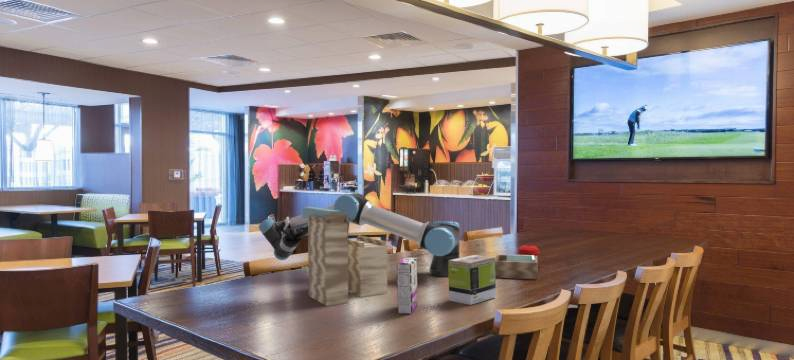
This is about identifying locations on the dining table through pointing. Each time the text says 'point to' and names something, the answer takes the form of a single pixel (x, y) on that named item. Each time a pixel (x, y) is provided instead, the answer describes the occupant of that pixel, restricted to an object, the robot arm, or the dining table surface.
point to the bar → (317, 212)
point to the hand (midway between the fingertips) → (304, 219)
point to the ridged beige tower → (367, 266)
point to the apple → (529, 250)
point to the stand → (328, 258)
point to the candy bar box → (407, 285)
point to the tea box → (472, 279)
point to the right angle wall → (521, 258)
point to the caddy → (515, 268)
